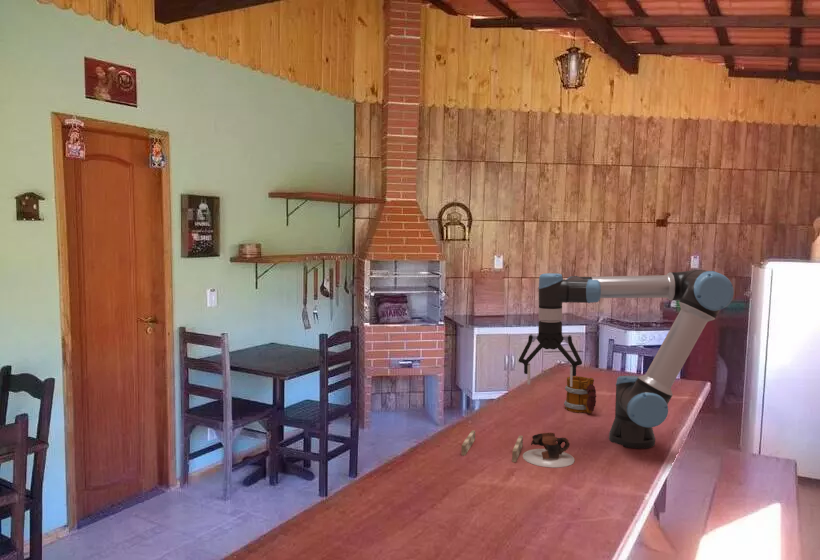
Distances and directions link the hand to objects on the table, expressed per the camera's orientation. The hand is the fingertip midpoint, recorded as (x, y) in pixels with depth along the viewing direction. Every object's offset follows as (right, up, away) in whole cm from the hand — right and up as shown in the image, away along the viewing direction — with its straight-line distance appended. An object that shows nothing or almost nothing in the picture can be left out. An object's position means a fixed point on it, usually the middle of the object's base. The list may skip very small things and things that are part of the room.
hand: (549, 384), depth 207 cm
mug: (+23, -19, +47) cm, 55 cm away
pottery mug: (0, -23, -7) cm, 24 cm away
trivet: (-2, -22, -7) cm, 23 cm away
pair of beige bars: (-19, -22, -1) cm, 29 cm away
